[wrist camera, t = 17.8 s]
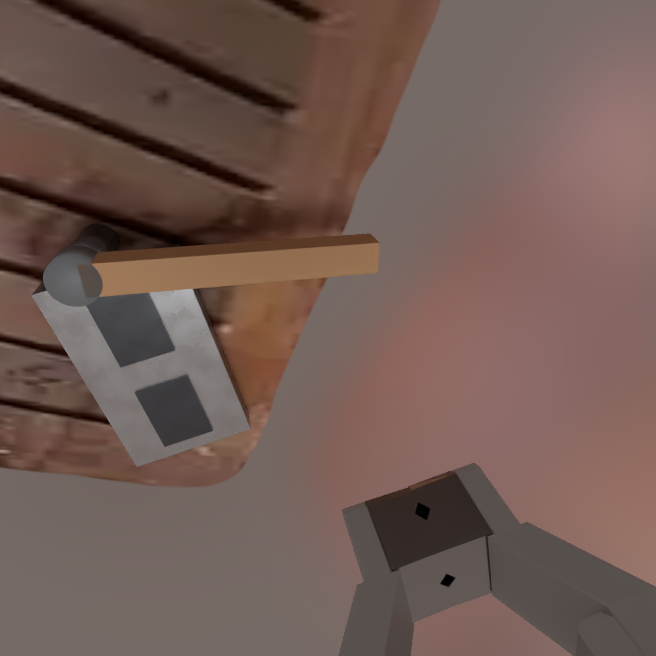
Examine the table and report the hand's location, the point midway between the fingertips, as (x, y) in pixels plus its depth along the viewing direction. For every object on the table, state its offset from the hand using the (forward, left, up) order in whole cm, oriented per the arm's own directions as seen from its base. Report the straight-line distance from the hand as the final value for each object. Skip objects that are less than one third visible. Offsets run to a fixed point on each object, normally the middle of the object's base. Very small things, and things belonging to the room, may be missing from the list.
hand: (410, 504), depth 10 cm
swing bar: (+3, -4, -28) cm, 29 cm away
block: (+11, -14, -35) cm, 39 cm away
